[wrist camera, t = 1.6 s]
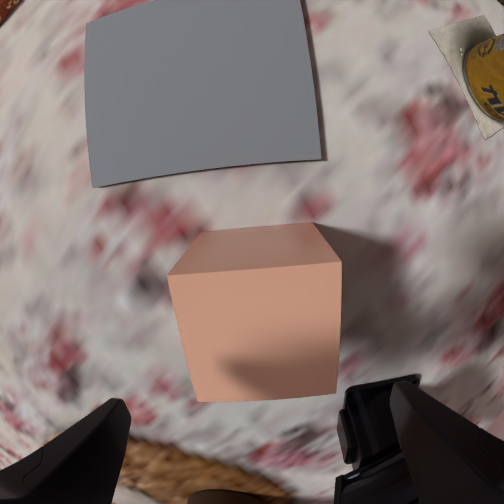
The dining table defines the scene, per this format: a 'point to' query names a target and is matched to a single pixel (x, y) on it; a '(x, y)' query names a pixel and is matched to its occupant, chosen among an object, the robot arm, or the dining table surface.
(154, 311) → the dining table surface
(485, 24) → the condiment
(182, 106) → the grey panel
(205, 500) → the olive oil
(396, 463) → the robot arm
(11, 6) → the slice of bread
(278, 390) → the salmon cube
